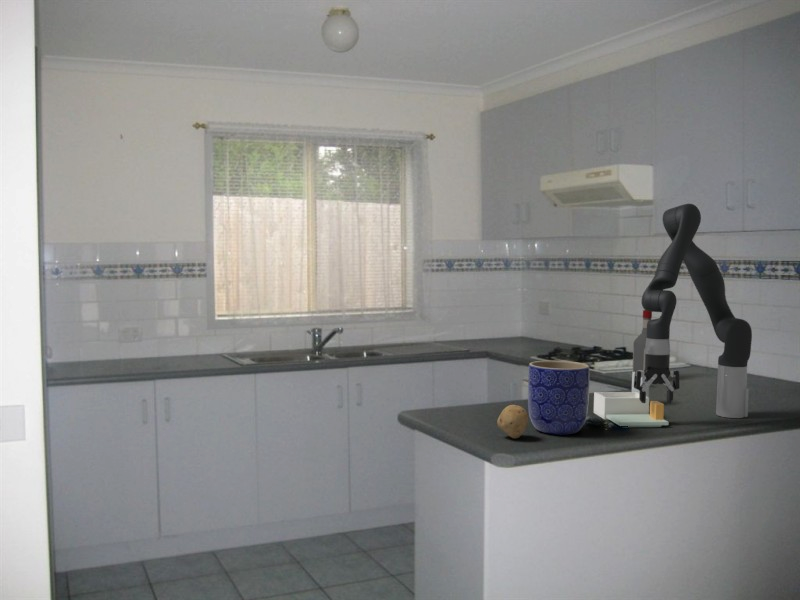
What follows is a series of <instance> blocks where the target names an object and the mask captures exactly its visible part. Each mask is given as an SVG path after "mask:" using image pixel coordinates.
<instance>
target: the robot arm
mask: <svg viewBox="0 0 800 600" xmlns="http://www.w3.org/2000/svg"><path fill="white" fill-rule="evenodd" d="M701 219H702V216H701V211H700V210H699V208H698V207H697V205H695V204H693V203H686V204H681V205H678V206H675V207H672V208H669V209H666V210H665V211H664V212H663V214H662V225H663V227H664V229H665V232H666V233H667V235H668V237H669V239H670V240H671V243H670V244H669V245H668V247H667V248H666V249H665V250H664V252H663V253H662V255H661V257H660V258H659V261H658V263H657V266H656V270H655V274H654V277H652V280H651V281H650V282H649V284H648V285H647V287H646V288H645V290H644V292H643V294H642V297H641V306H642V308H643V310H646V311H650V312H652V313H655V312H656V313H661V315H660V316H659V318H655V319H651V320H649V321H648V322H647V338H646V346H645V370H644V371H638V370H636V371H635V376H634V388H635V389H637V390H639V391H640V395H639V399H640V401H641V402H642V403H646V392H645V390H646V389H647V388H648V387H649V388H650V387H651V385H664V386H665V388H666V403H669V404H671V403H672V402H673V400H674V391H676V390H679V389H680V371H679V370H677V369H673V370H670V361H671V360H670V357H671V356H670V355H671V342H670V331H671V328H670V327H671V322H672V320H673V319H672V318H673V315H674V313H675V309H676V306H677V296H676V294H675V293H674V292H673V291H672V290H669V289H671V288H673V287H675V286H676V284H677V281H678V277H679V274H680V271H681V267H682V264H683V263H684V265H685V267H686V269H687V271H688V274H689V276H690V278H691V280H692V282H693V285H694V287H695V289H696V291H697V293H698V295H699V297H700V298H701V301H702V303H703V305H704V307H705V309H706V311H707V313H708V315H709V319H710V321H711V325H712V328H713V331H714V333H715V336H716V337H717V339H718V340H719V341H720V342H721V343H723V345H724V347H723V352H722V354H721V355H719V356H718V359H717V378H716V379H717V382H716V385H717V386H716V408H715V414H716V416H719V417H723V418H727V419H728V418H730V419H742V418H743V419H744V418H748V416H749V398H750V397H749V395H750V393H749V391H750V389H749V388H748V387H747V381H748V380H747V378H748V377H747V376H748V362H749V360H750V357H751V351H752V340H753V331H752V326H751V324H750V323H749V322H748V321H746V320H744V319H741V318H737V317H735V315H734V314H733V312H732V310H731V308H730V306H729V304H728V301H727V296H726V286H725V285H726V284H725V279H724V277H723V275H722V273H721V270H720V269H719V266H718V264H717V262H716V261H715V260H714V259H713V258H712V257H711V256H710V255H709V254H708V253H706V252H705V251H704V250H703V249H701V247H698V245H697V244H695V242H694V241H693V239H694V238H695V235H696V233H697V231H698V230H699V227H700V225H701V221H702V220H701ZM643 375H644V376H645V377H646V378H645V380H644V381H643V382H642V385H641V386H640V383H641V378H642V376H643ZM670 376H671V377H672V383H671V381H669V379H668V378H669V377H670Z"/></svg>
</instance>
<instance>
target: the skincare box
mask: <svg viewBox="0 0 800 600" xmlns="http://www.w3.org/2000/svg"><path fill="white" fill-rule="evenodd" d="M639 371H640V370H639ZM634 376H635V372H633V371H632V372H631V392H638V393H640V391H639V390H637V389H635V388H634ZM645 378H646V377H645V376H644V375H643V376H642V378H641V383H640V386H641V385H642V382H643V381H644V380H645ZM645 392H646V397H648V398H649V399H650V386H649V387H648V388H647V389H646V390H645Z"/></svg>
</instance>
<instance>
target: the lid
mask: <svg viewBox="0 0 800 600" xmlns="http://www.w3.org/2000/svg"><path fill="white" fill-rule="evenodd" d="M664 408H665V404H664V403H662V402H660V401H657V400H651V401H650V400H649V414H619V415H606V418H608V419H607V420H610V421H611V422H613V423H614V424H616V425H618V426H619V427H621V426H628V427H627V428H662V426H669V425H670V424H669V421H668V420H666V419H665V418H664V412H665V409H664Z"/></svg>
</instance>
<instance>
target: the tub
mask: <svg viewBox="0 0 800 600" xmlns="http://www.w3.org/2000/svg"><path fill="white" fill-rule="evenodd" d="M593 394H594V395H593V414H595V415H596V416H598V417H600V418H602V419H603V420H609V419H608V418H606V415H619V414H650V397H649V398H648V397H646V403H642V402H641V401H640V399H639V395H640V393H638V392H632V391H617V392H616V391H603V392H602V391H601V392H600V391H597V392H593Z"/></svg>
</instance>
